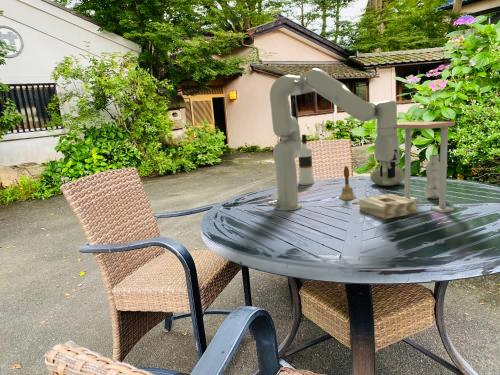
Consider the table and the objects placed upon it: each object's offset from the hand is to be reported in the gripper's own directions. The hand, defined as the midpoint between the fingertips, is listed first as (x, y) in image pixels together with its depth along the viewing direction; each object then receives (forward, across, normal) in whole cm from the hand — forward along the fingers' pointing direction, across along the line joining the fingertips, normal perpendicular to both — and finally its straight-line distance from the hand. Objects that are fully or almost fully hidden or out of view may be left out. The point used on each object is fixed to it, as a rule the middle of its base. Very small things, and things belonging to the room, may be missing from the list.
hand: (387, 176), depth 151 cm
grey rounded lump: (+15, -43, +34) cm, 57 cm away
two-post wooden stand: (+15, 0, +15) cm, 21 cm away
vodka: (+15, -74, -1) cm, 76 cm away
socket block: (+15, 0, 0) cm, 15 cm away
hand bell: (+15, -30, 0) cm, 34 cm away
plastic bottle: (+15, -6, +30) cm, 34 cm away
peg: (+3, 0, 0) cm, 3 cm away
